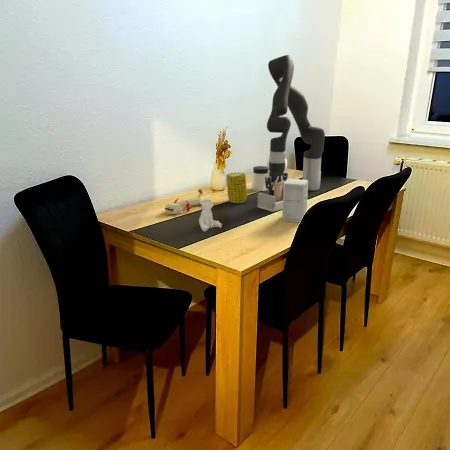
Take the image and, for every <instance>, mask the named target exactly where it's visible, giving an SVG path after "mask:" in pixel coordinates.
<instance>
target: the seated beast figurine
mask: <svg viewBox="0 0 450 450" xmlns="http://www.w3.org/2000/svg"><path fill="white" fill-rule="evenodd" d="M203 199H204V200H203ZM203 199H202V200H203V201H199V203H200V204H202V205H201V207H202V211H200V212H201V213H200V216H199V219H198V222H199V223H198V224H199V226H200V229H201V230H202V231H203V232H207V230H209V228H210V229H214V227H215V228H218V227H219V229H221V228H222V226H223V224H222V223H221V222H220V221H219V220H214V219H213V212H212V208H213V207H214V205H213V200H212V199H210V198H203ZM200 204H199V205H200ZM212 227H213V228H212Z"/></svg>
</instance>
